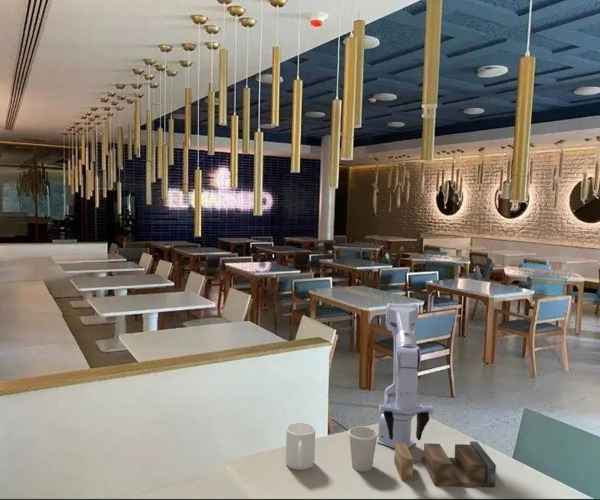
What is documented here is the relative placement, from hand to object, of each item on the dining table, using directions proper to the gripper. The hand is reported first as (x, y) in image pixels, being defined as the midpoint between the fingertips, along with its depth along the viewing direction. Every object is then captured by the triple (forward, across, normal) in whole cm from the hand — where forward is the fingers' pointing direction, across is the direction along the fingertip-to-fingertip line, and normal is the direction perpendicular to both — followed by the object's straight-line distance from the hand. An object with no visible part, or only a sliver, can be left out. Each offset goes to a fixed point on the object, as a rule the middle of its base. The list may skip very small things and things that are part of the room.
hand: (404, 438), depth 140 cm
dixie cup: (+10, -11, +2) cm, 15 cm away
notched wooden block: (+9, +14, 0) cm, 17 cm away
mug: (+10, -29, +1) cm, 30 cm away
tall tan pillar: (+10, 0, 0) cm, 10 cm away
